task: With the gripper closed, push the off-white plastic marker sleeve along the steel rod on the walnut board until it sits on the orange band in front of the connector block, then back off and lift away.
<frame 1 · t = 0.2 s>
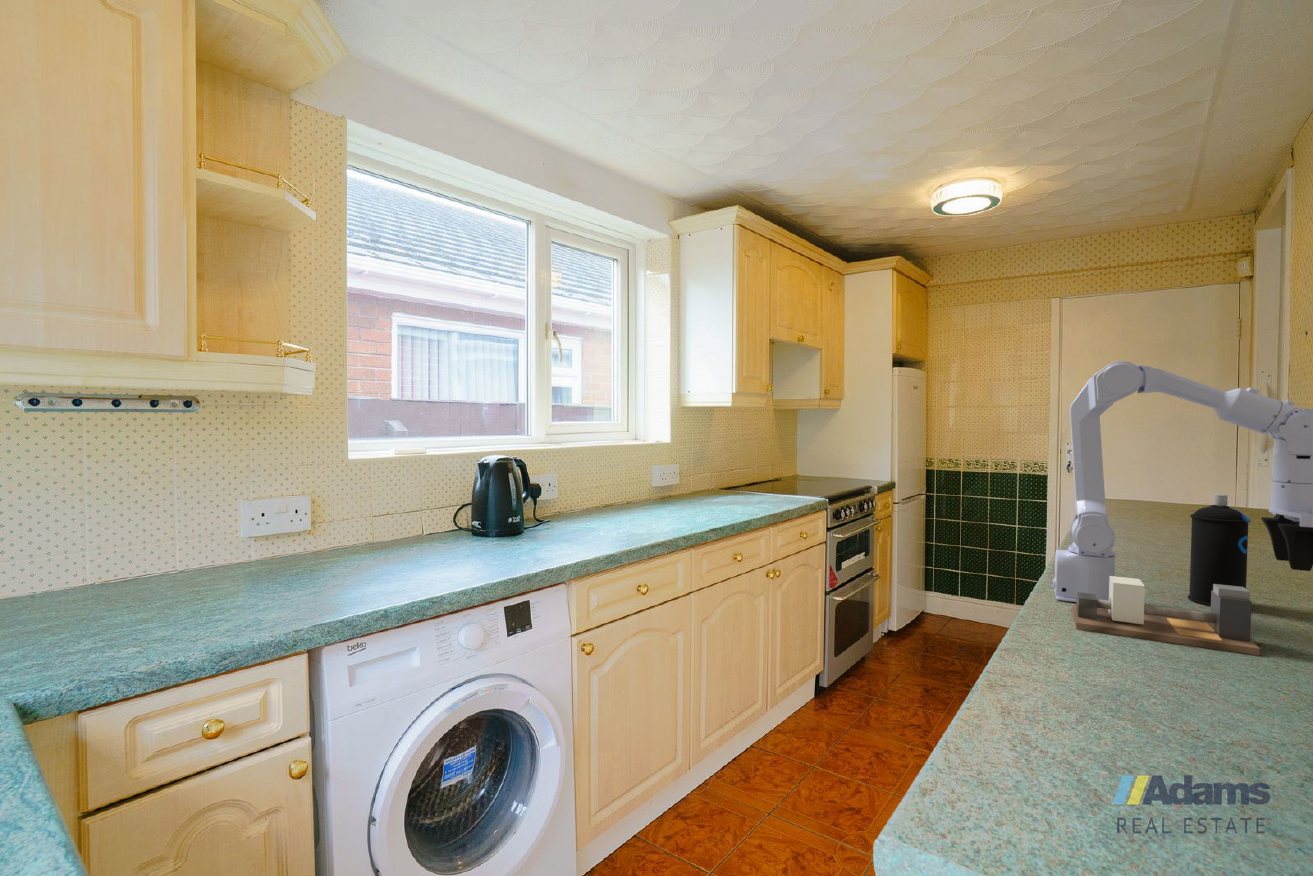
hand: (1292, 565, 101), 10 cm above the table, fingers open, 7 cm apart
aerosol can: (1216, 603, 114), on the table
marker sleeve: (1126, 599, 101), point 4 cm above the table, slide at 0.0 cm
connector: (1229, 641, 94), resting on rail board
rail board: (1155, 630, 99), on the table
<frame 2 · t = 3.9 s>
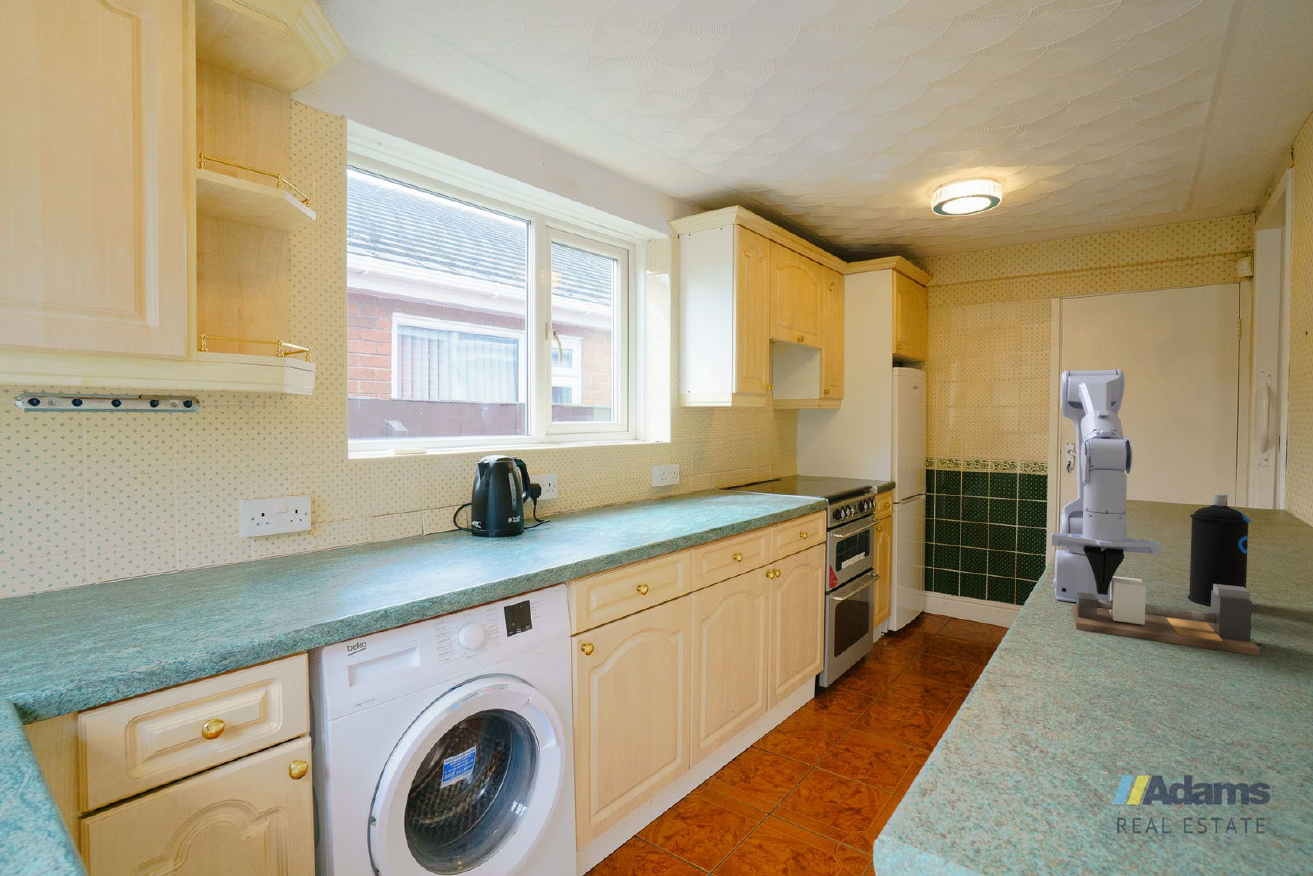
hand: (1102, 593, 102), 5 cm above the table, fingers closed
marker sleeve: (1127, 599, 101), point 4 cm above the table, slide at 0.1 cm, touching gripper
everything else where it was.
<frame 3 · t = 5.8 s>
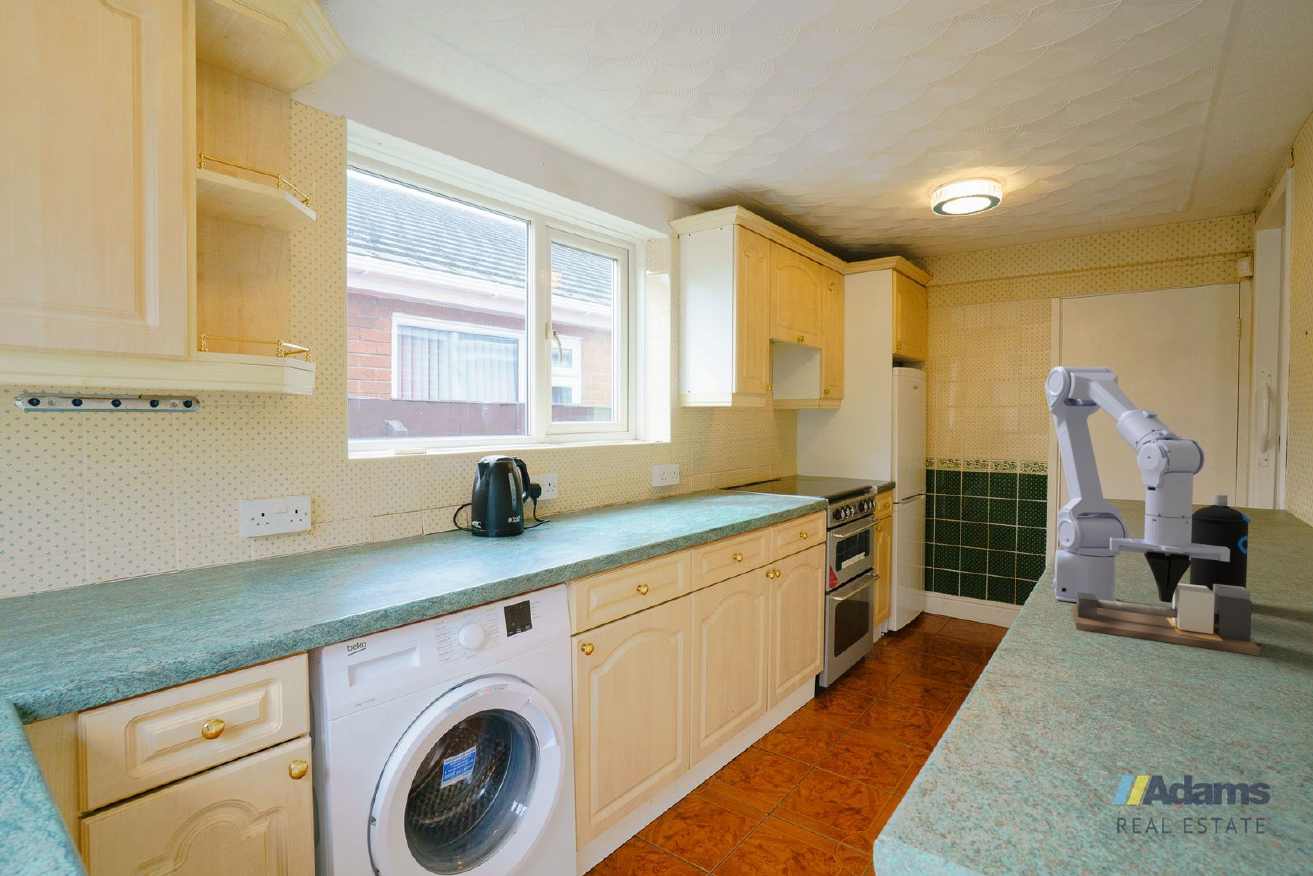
hand: (1165, 600, 98), 5 cm above the table, fingers closed
marker sleeve: (1192, 607, 96), point 4 cm above the table, slide at 8.3 cm, touching gripper
everything else where it was.
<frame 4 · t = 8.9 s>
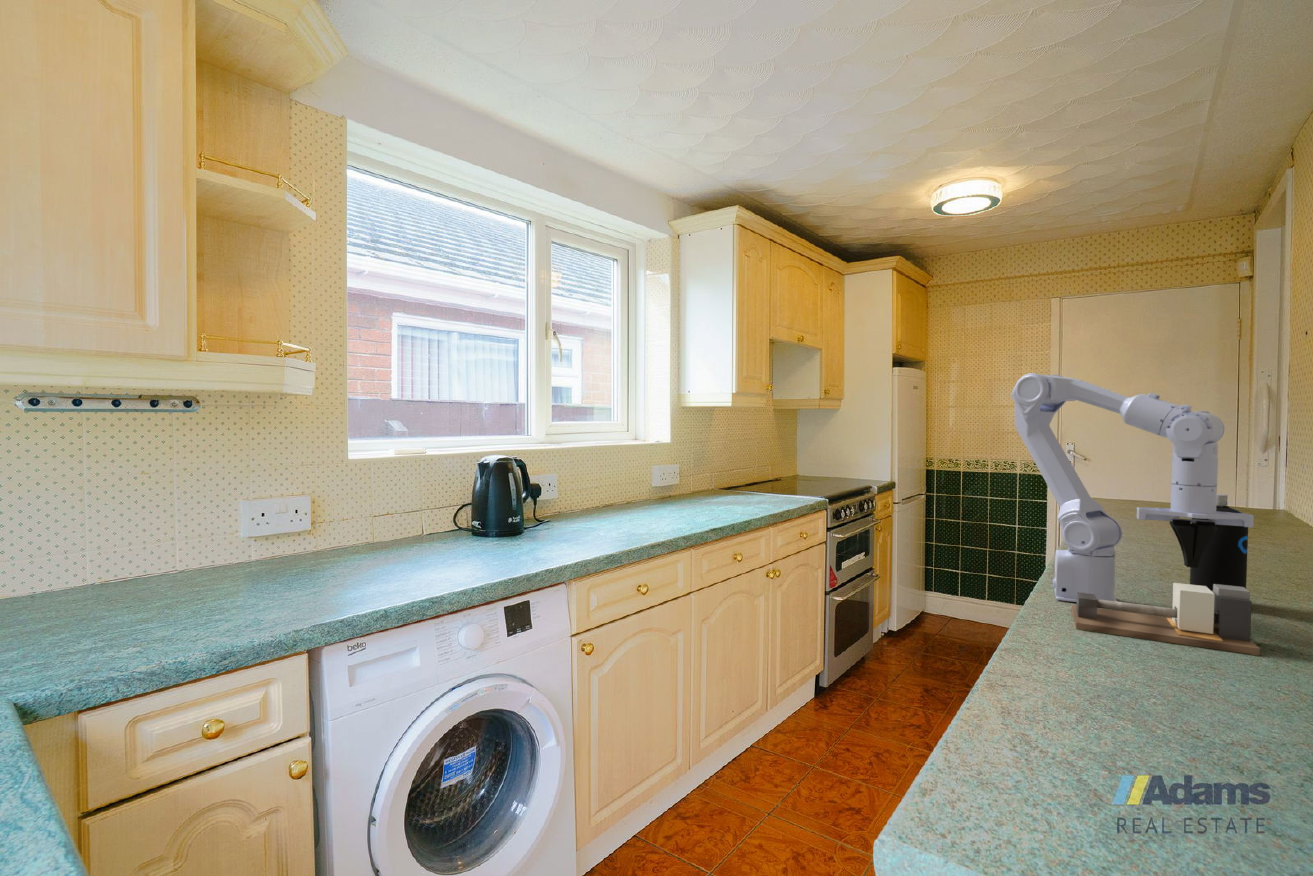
hand: (1191, 566, 103), 9 cm above the table, fingers closed
marker sleeve: (1192, 607, 96), point 4 cm above the table, slide at 8.3 cm
everything else where it was.
at the end: marker sleeve slide at 8.3 cm; aerosol can moved 0.2 cm from its start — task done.
